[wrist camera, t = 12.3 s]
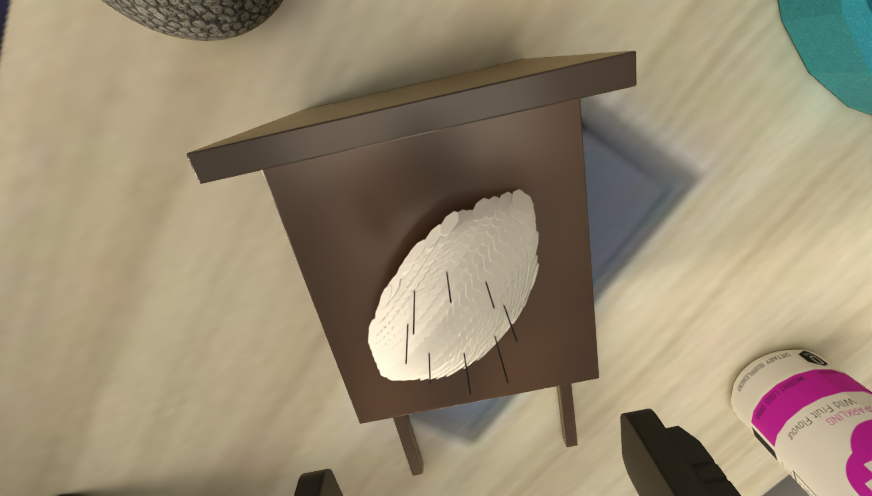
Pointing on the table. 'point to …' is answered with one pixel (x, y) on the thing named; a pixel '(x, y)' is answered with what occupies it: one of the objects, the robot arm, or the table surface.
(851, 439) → the supplement can
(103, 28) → the table surface
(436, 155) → the box with long handles
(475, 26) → the table surface
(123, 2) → the decorative ball
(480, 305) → the pincushion
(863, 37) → the round teal tray
